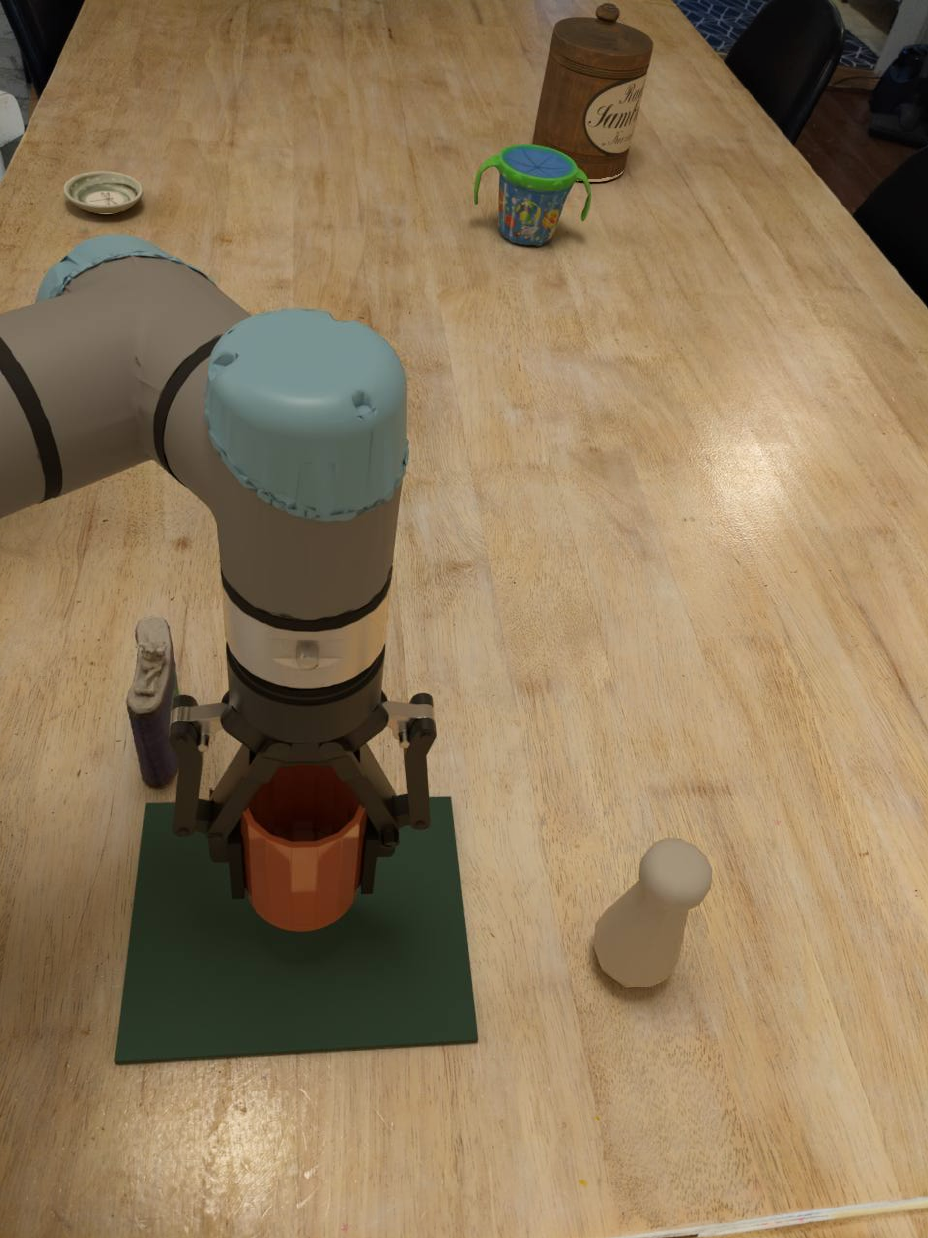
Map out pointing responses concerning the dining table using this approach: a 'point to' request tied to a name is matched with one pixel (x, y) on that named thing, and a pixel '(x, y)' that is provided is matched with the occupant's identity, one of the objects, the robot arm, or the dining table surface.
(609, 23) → the wooden container
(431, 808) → the mat
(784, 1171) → the dining table surface
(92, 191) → the saucer
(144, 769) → the flask
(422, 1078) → the dining table surface
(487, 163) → the snack cup
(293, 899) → the cup
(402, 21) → the dining table surface
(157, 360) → the robot arm
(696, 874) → the salt shaker
